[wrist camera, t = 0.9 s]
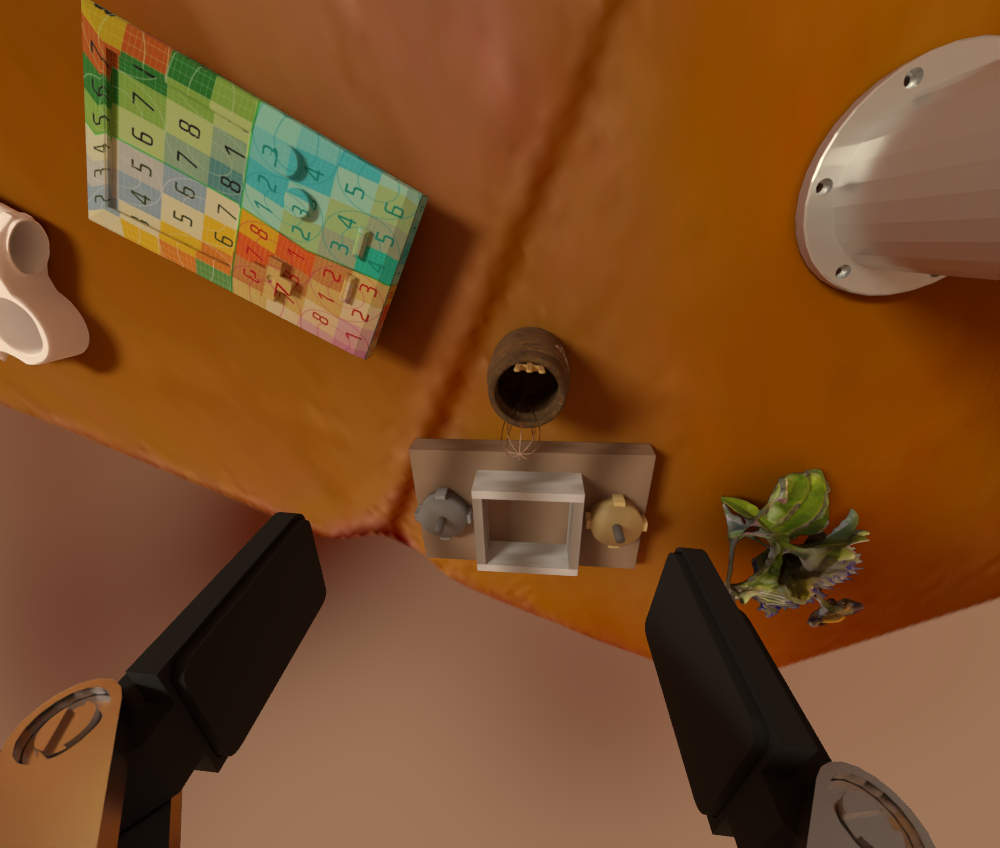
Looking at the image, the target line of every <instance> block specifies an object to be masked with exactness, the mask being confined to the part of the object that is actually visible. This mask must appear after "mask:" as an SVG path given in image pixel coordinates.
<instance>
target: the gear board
mask: <svg viewBox="0 0 1000 848" xmlns="http://www.w3.org/2000/svg"><path fill="white" fill-rule="evenodd" d="M510 442H511V443H510ZM530 442H531V441H521V444H520V441H508V443H507V440H502V443H501V440H461V439H415V440H414V442H413V444H412V445H411V447H410V448H409V454H410V460H411V466H412V472H413V478H414V484H415V490H416V496H417V502H418V507H417V509H416V511H415V519H416V521H420V524H421V527H422V533H423V539H424V545H425V551H426V557H431V558H450V559H468V560H477V569H478V570H481V571H498V572H515V573H533V574H550V575H568V576H577V574H578V566H596V567H614V568H632V569H635V564H636V559H637V554H638V549H639V543H640V538H641V533H642V531H647V526H648V522H647V520H646V517H645V512H646V507H647V501H648V496H649V491H650V486H651V480H652V475H653V470H654V465H655V459H656V454H655V453H654V451H653V449H652V447H651V445H650V444H645V443H599V442H553V441H540V443H539V441H534V446H533V441H532V442H531V444H530ZM502 444H503V445H502ZM511 444H512V445H513V447H514V448H515V450H516V451H517V452H518V453H519V446H520V453H521V452H522V451H524V450H525V449H526V448H527V446H528V445H529V444H530V445H529V447H528V448H527V449H526V450H525V451H524V452H522V453H521V454H525V455H522V456H523V457H525V458H523V457H522V456H519V455H518V454H513V453H517V452H516V451H515V450H514V448H513V447H512V445H511ZM538 445H539V447H538ZM503 446H504V447H505V448H506V446H507V450H508V451H507V454H508V455H507V454H506V449H505V448H504V447H503ZM537 447H538V448H537ZM536 448H537V449H536ZM532 449H533V451H534V450H535V449H536V450H535V451H534V452H533V455H532V453H530V452H532ZM509 451H510V452H509ZM511 452H513V453H511ZM527 453H530V454H527ZM516 455H518V456H516ZM531 455H532V457H531ZM509 456H511V457H509ZM512 456H515V457H512ZM529 457H531V458H529ZM518 458H519V461H518ZM526 458H529V459H526Z"/></svg>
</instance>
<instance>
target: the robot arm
mask: <svg viewBox="0 0 1000 848" xmlns="http://www.w3.org/2000/svg"><path fill="white" fill-rule="evenodd" d="M817 185H818V190H817V191H816V187H817ZM796 238H797V241H798V245H799V249H800V253H801V255H802V257H803V259H804V261H805V262H806V264H807V266H808V268H809V269H810V270H811V271H812V272H813V273H814V274H815V275H816V276H817V277H818V278H819V279H820V280H821V281H823V282H825V283H826V284H828V285H830V286H831V287H833V288H836V289H839V290H842V291H846V292H849V293H855V294H862V295H868V296H876V295H893V294H898V293H903V292H909V291H912V290H915V289H918V288H921V287H924V286H927V285H930V284H933V283H935V282H937V281H939V280H941V279H943V278H945V277H947V276H955V277H966V278H978V279H989V280H1000V35H983V36H978V37H972V38H967V39H962V40H958V41H955V42H952V43H950V44H947V45H944V46H942V47H939V48H937V49H934V50H931V51H929V52H927V53H925V54H923V55H921V56H919V57H917V58H915V59H913V60H911V61H909V62H907V63H905V64H903V65H902V66H900V67H899V68H897V69H896V70H894V71H893V72H891V73H890V74H888V75H887V76H885V77H884V78H882V79H881V80H879V81H878V82H877V83H876V84H874V85H873V86H872V87H871V88H870V89H869V90H868V91H866V92H865V93H864V94H863V95H862V96H861V97H860V98H858V99H857V100H856V101H855V102H854V103H853V104H852V105H851V106H850V108H849V109H848V110H847V111H846V112H845V113H844V114H843V116H842V117H841V118H840V119H839V120H838V121H837V122H836V123H835V125H834V126H833V128H832V129H831V130H830V132H829V133H828V135H827V136H826V138H825V139H824V141H823V142H822V144H821V145H820V147H819V148H818V150H817V152H816V154H815V156H814V158H813V160H812V162H811V164H810V166H809V168H808V170H807V172H806V175H805V178H804V181H803V184H802V187H801V190H800V193H799V198H798V204H797V210H796ZM325 596H326V587H325V583H324V579H323V575H322V570H321V566H320V562H319V558H318V554H317V550H316V546H315V541H314V537H313V533H312V529H311V525H310V522H309V521H308V520H305V518H304V516H303V515H302V514H296V513H285V512H278V513H276V514H275V515H273V516H272V517H271V519H270V520H269V521H268V522H267V523H266V524H265V525H264V526H263V527H262V528H261V529H260V530H259V531H258V532H257V533H256V534H255V536H254V537H253V538H252V539H251V540H250V541H249V542H248V543H247V544H246V545H245V546H244V547H243V548H242V549H241V550H240V551H239V552H238V553H237V554H236V556H234V558H233V559H232V560H231V561H230V562H229V563H228V564H227V565H226V566H225V567H224V568H223V569H222V570H221V571H220V572H219V573H218V575H217V576H216V577H215V578H214V579H213V580H212V581H211V582H210V583H209V584H208V585H207V586H206V587H205V588H204V589H203V590H202V591H201V592H200V594H198V596H197V597H196V598H195V599H194V600H193V601H192V602H191V603H190V604H189V605H188V606H187V607H186V608H185V609H184V610H183V611H182V612H181V614H180V615H179V616H178V617H177V618H176V619H175V620H174V621H173V622H172V623H171V624H170V625H169V626H168V627H167V628H166V629H165V630H164V631H163V633H162V634H161V635H160V636H159V637H158V638H157V639H156V640H155V641H154V642H153V643H152V644H151V645H150V646H149V647H148V648H147V649H146V650H145V651H144V653H143V654H142V655H141V656H140V657H139V658H138V659H137V660H136V661H135V662H134V663H133V664H132V665H131V666H130V667H129V668H128V669H127V670H126V674H125V675H124V676H123V677H122V679H121V680H120V681H119V682H118V683H117V682H116V681H115V680H111V679H107V678H102V679H93V680H89V681H86V682H83V683H80V684H77V685H75V686H72V687H71V688H69V689H67V690H65V691H63V692H61V693H59V694H57V695H55V696H54V697H52V698H51V699H50V700H48V701H47V702H45V703H44V704H42V705H41V706H39V707H38V708H37V709H36V710H34V711H33V712H32V713H31V714H30V715H29V716H28V717H27V718H25V719H24V720H23V721H22V722H21V723H20V724H19V725H18V727H17V728H16V729H15V730H14V731H13V732H12V733H11V735H10V736H9V737H8V738H7V740H6V742H5V744H4V746H3V747H2V749H1V750H0V848H180V842H181V841H180V840H181V813H182V812H181V811H182V788H183V786H184V785H185V783H186V782H187V780H188V779H189V777H190V776H191V774H192V772H193V771H194V770H200V771H209V772H216V773H218V772H219V771H220V769H221V768H222V766H223V764H224V763H225V761H226V759H227V757H228V756H232V755H233V754H235V753H236V752H237V750H238V749H239V748H240V746H241V745H242V743H243V742H244V740H245V738H246V736H247V735H248V733H249V731H250V729H251V728H252V726H253V724H254V723H255V721H256V719H257V717H258V716H259V714H260V712H261V710H262V709H263V707H264V705H265V703H266V702H267V700H268V698H269V697H270V695H271V693H272V691H273V690H274V688H275V686H276V684H277V682H278V681H279V679H280V677H281V676H282V674H283V672H284V670H285V669H286V667H287V665H288V664H289V662H290V660H291V658H292V657H293V655H294V653H295V651H296V650H297V648H298V646H299V644H300V643H301V641H302V639H303V638H304V636H305V634H306V632H307V631H308V629H309V627H310V625H311V624H312V622H313V620H314V618H315V617H316V615H317V613H318V611H319V610H320V608H321V606H322V605H323V603H324V600H325ZM645 632H646V637H647V641H648V644H649V647H650V651H651V654H652V658H653V661H654V664H655V668H656V671H657V674H658V678H659V681H660V685H661V688H662V691H663V695H664V698H665V702H666V705H667V709H668V712H669V715H670V719H671V722H672V726H673V729H674V732H675V736H676V739H677V743H678V746H679V749H680V753H681V756H682V759H683V763H684V766H685V770H686V773H687V777H688V780H689V783H690V787H691V790H692V793H693V797H694V800H695V803H696V805H697V807H698V809H699V811H700V812H701V813H702V814H705V815H707V818H708V821H709V824H710V828H711V831H712V834H715V835H722V836H730V837H734V838H735V841H736V844H737V847H738V848H935V846H934V844H933V842H932V840H931V838H930V836H929V834H928V832H927V830H926V829H925V828H924V826H923V825H922V824H921V822H920V821H919V819H918V818H917V817H916V815H915V814H914V813H913V811H912V810H911V809H910V808H909V807H908V806H907V805H906V804H905V803H904V802H903V801H902V800H901V798H900V797H899V796H897V794H896V793H895V792H894V791H892V790H891V789H890V788H889V787H887V786H886V785H885V784H883V783H882V782H881V781H880V780H879V779H878V778H876V777H875V776H873V775H871V774H870V773H868V772H866V771H864V770H863V769H861V768H859V767H857V766H854V765H851V764H848V763H845V762H832V761H831V759H830V758H829V756H828V754H827V752H826V750H825V749H824V747H823V745H822V744H821V742H820V740H819V739H818V737H817V735H816V733H815V731H814V730H813V728H812V726H811V725H810V723H809V721H808V720H807V718H806V716H805V714H804V713H803V711H802V709H801V707H800V706H799V704H798V702H797V701H796V699H795V697H794V696H793V694H792V692H791V690H790V689H789V687H788V685H787V683H786V682H785V680H784V678H783V677H782V675H781V673H780V671H779V670H778V668H777V666H776V664H775V663H774V661H773V659H772V658H771V656H770V654H769V652H768V651H767V649H766V647H765V646H764V644H763V642H762V640H761V639H760V637H759V635H758V634H757V632H756V630H755V628H754V627H753V625H752V623H751V621H750V620H749V619H748V617H747V616H746V614H745V613H743V612H742V611H741V610H739V609H738V607H737V606H736V604H735V602H734V600H733V599H732V597H731V595H730V593H729V592H728V590H727V588H726V586H725V585H724V583H723V581H722V579H721V578H720V576H719V574H718V572H717V571H716V569H715V567H714V565H713V563H712V562H711V560H710V558H709V556H708V555H707V553H706V552H705V551H704V550H702V549H692V548H681V547H678V548H677V549H676V550H675V552H674V553H669V555H668V557H667V560H666V563H665V566H664V569H663V571H662V574H661V577H660V580H659V583H658V586H657V589H656V592H655V595H654V598H653V601H652V604H651V607H650V610H649V613H648V615H647V618H646V622H645Z"/></svg>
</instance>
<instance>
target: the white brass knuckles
mask: <svg viewBox="0 0 1000 848" xmlns="http://www.w3.org/2000/svg"><path fill="white" fill-rule="evenodd" d="M49 255H50V249H49V239H48V236H47V234H46V232H45V230H44V229H43V227H42V226H41V225H40V224H39V223H38V222H36V221H35V220H34V219H33V217H32V216H30V215H28V214H26V213H21V212H18V211H16V210H14V209H12V208H10V207H9V206H7V205H5V204H3V203H1V202H0V359H1V360H3V361H4V362H5V361H6V359H7V357H8V355H9V354H11V355H13V356H15V357H16V358H18V359H20V360H21V361H23V362H24V363H26V364H30V365H39V364H44V363H48V362H52V361H56V360H60V359H64V358H68V357H72V356H76V355H79V354H82V353H83V352H84V351H85V350H86V349H87V347H88V345H89V332H88V328H87V326H86V323H85V321H84V319H83V317H82V316H81V314H80V313H79V311H78V310H77V309H76V307H75V306H74V305H73V304H72V303H71V302H70V301H69V300H68V299H67V298H66V297H65V296H63V295H62V294H61V293H59V292H58V291H57V289H56V288H55V286H54V285H53V283H52V281H51V280H50V278H49V276H48V268H47V262H48V259H49Z"/></svg>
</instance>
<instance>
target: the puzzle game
mask: <svg viewBox="0 0 1000 848" xmlns="http://www.w3.org/2000/svg"><path fill="white" fill-rule="evenodd" d="M81 8H82V37H83V66H84V95H85V124H86V154H87V183H88V212H89V220H91V221H93V222H95V223H97V224H99V225H101V226H103V227H105V228H107V229H109V230H111V231H113V232H115V233H117V234H119V235H121V236H123V237H125V238H127V239H129V240H131V241H133V242H135V243H137V244H139V245H141V246H143V247H145V248H147V249H149V250H150V251H152V252H154V253H156V254H158V255H160V256H162V257H164V258H166V259H168V260H170V261H172V262H174V263H176V264H178V265H180V266H182V267H184V268H186V269H188V270H190V271H192V272H194V273H196V274H198V275H200V276H202V277H204V278H206V279H208V280H210V281H211V282H213V283H215V284H217V285H219V286H221V287H223V288H225V289H227V290H229V291H231V292H233V293H235V294H237V295H239V296H241V297H243V298H244V299H246V300H248V301H250V302H252V303H254V304H256V305H258V306H260V307H262V308H264V309H266V310H268V311H270V312H272V313H274V314H275V315H277V316H279V317H281V318H283V319H285V320H287V321H289V322H291V323H293V324H295V325H297V326H299V327H301V328H303V329H305V330H307V331H308V332H310V333H312V334H314V335H316V336H318V337H320V338H322V339H324V340H326V341H328V342H330V343H332V344H334V345H336V346H338V347H339V348H341V349H343V350H345V351H347V352H349V353H351V354H353V355H355V356H358V357H360V358H363V359H365V360H366V359H367V358H369V357H370V356H372V354H373V351H374V349H375V346H376V343H377V340H378V337H379V335H380V332H381V329H382V326H383V323H384V321H385V318H386V315H387V312H388V309H389V307H390V304H391V301H392V298H393V295H394V293H395V290H396V287H397V284H398V281H399V279H400V276H401V273H402V270H403V267H404V265H405V262H406V259H407V256H408V253H409V251H410V248H411V245H412V242H413V239H414V237H415V234H416V231H417V228H418V225H419V222H420V220H421V217H422V214H423V211H424V208H425V206H426V203H427V200H428V196H426V195H424V194H423V193H421V192H419V191H417V190H416V189H414V188H412V187H411V186H409V185H407V184H405V183H404V182H402V181H400V180H399V179H397V178H395V177H393V176H392V175H390V174H388V173H387V172H385V171H383V170H381V169H380V168H378V167H376V166H375V165H373V164H371V163H370V162H368V161H366V160H364V159H363V158H361V157H359V156H358V155H356V154H354V153H352V152H351V151H349V150H347V149H346V148H344V147H342V146H340V145H339V144H337V143H335V142H334V141H332V140H330V139H328V138H327V137H325V136H323V135H322V134H320V133H318V132H316V131H315V130H313V129H311V128H310V127H308V126H306V125H305V124H303V123H301V122H299V121H298V120H296V119H294V118H293V117H291V116H289V115H287V114H286V113H284V112H282V111H281V110H279V109H277V108H275V107H274V106H272V105H270V104H269V103H267V102H265V101H263V100H262V99H260V98H258V97H257V96H255V95H253V94H252V93H250V92H248V91H246V90H245V89H243V88H241V87H240V86H238V85H236V84H234V83H233V82H231V81H229V80H228V79H226V78H224V77H222V76H221V75H219V74H217V73H216V72H214V71H212V70H210V69H209V68H207V67H205V66H204V65H202V64H200V63H198V62H197V61H195V60H193V59H192V58H190V57H188V56H187V55H185V54H183V53H181V52H180V51H178V50H176V49H175V48H173V47H171V46H169V45H168V44H166V43H164V42H163V41H161V40H159V39H157V38H156V37H154V36H152V35H151V34H149V33H147V32H145V31H144V30H142V29H140V28H139V27H137V26H135V25H134V24H132V23H130V22H128V21H127V20H125V19H123V18H122V17H120V16H118V15H116V14H115V13H113V12H111V11H109V10H108V9H106V8H104V7H102V6H101V5H99V4H97V3H95V2H93V1H91V0H81Z"/></svg>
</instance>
